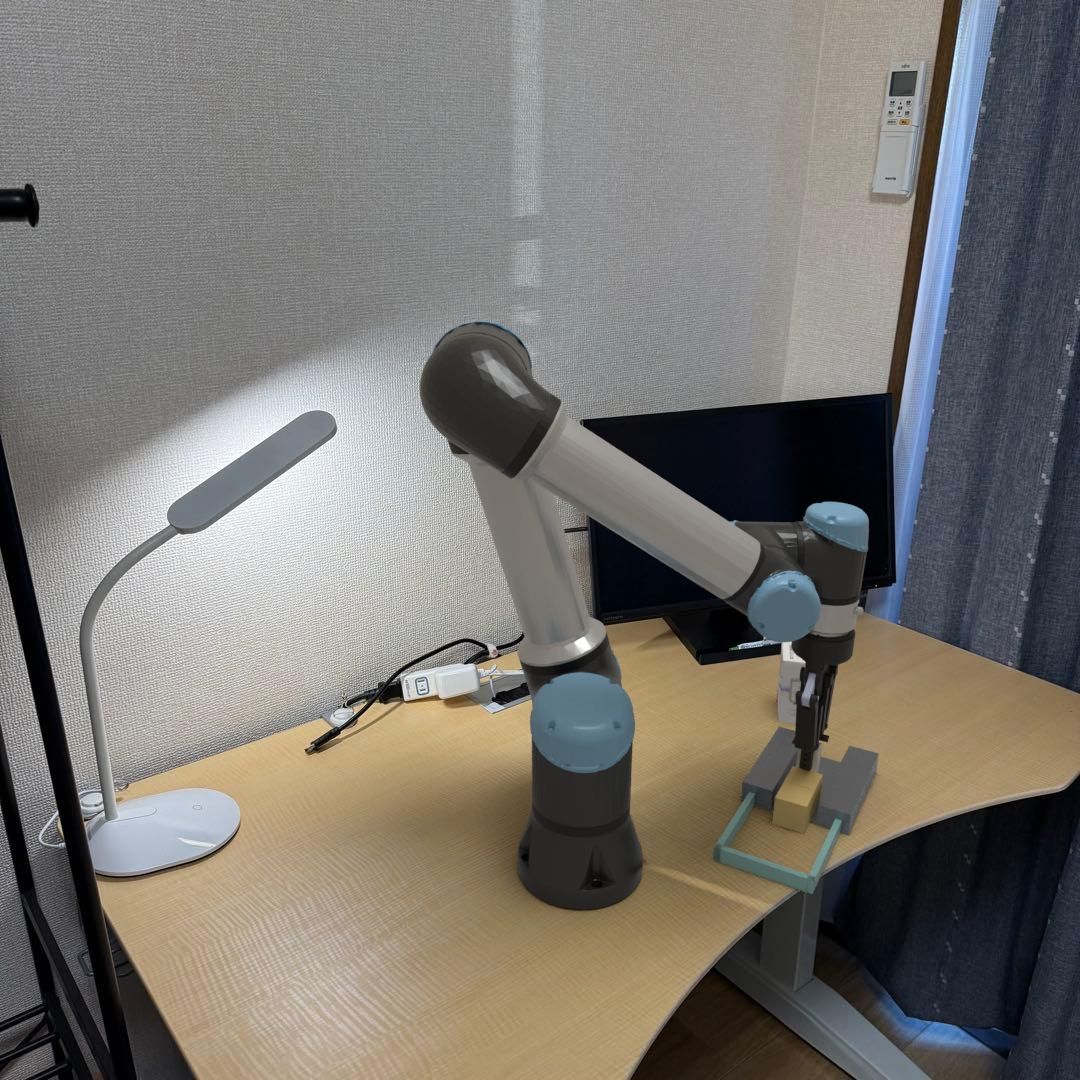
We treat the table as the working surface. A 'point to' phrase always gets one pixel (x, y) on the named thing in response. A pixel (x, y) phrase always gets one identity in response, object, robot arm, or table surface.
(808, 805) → the tan wooden cube
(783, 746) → the slot board
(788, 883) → the teal u-shaped bar frame
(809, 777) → the beige wooden block
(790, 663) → the ink cartridge box
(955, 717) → the table surface
